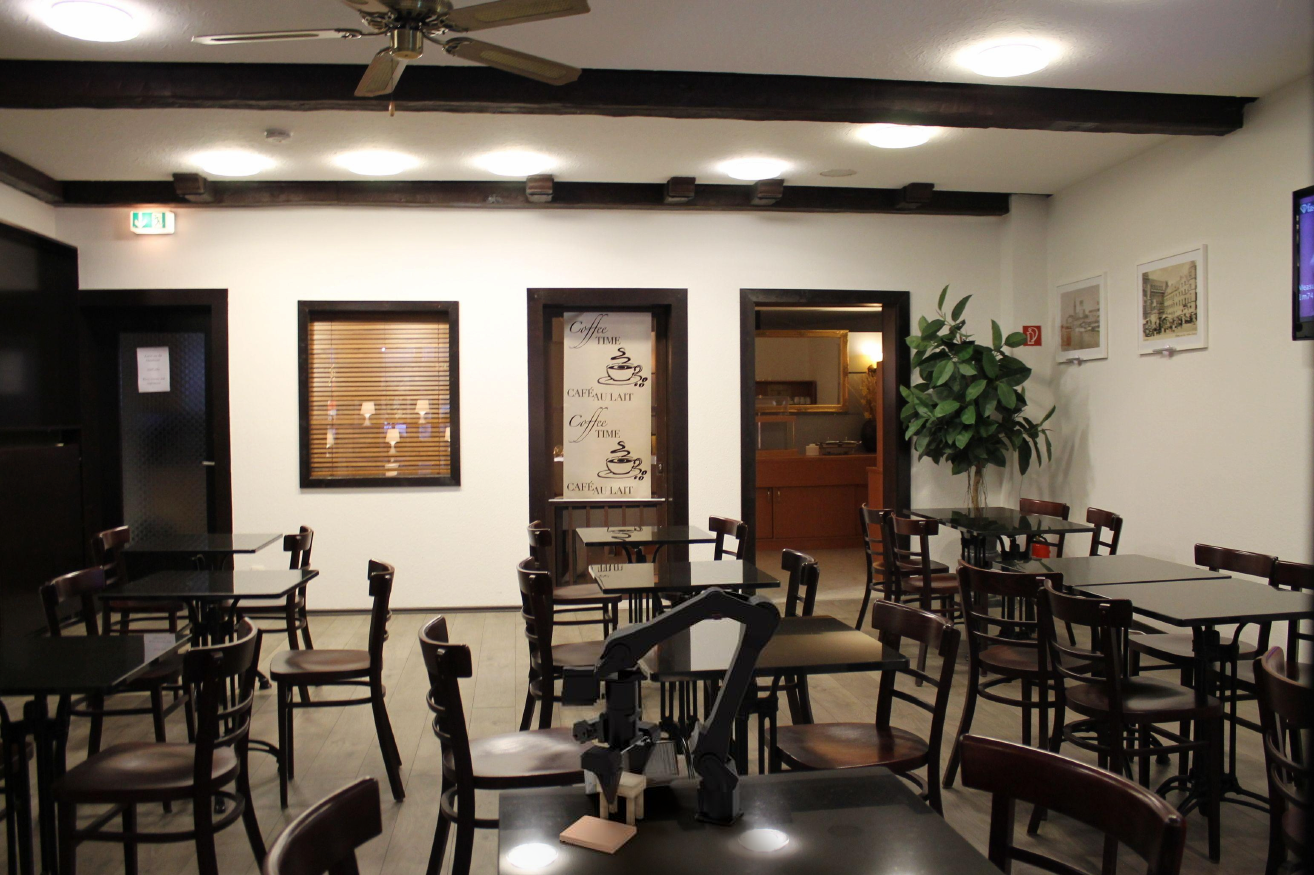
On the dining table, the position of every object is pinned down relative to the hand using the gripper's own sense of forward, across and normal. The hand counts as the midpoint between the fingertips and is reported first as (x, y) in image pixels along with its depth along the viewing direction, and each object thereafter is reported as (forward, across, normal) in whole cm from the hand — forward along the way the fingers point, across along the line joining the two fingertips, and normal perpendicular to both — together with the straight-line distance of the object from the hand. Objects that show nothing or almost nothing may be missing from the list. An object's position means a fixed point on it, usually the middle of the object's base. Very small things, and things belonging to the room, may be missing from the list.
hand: (622, 794), depth 155 cm
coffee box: (-1, -4, -10) cm, 10 cm away
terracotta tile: (+4, +8, 0) cm, 9 cm away
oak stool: (+4, 0, 0) cm, 4 cm away
